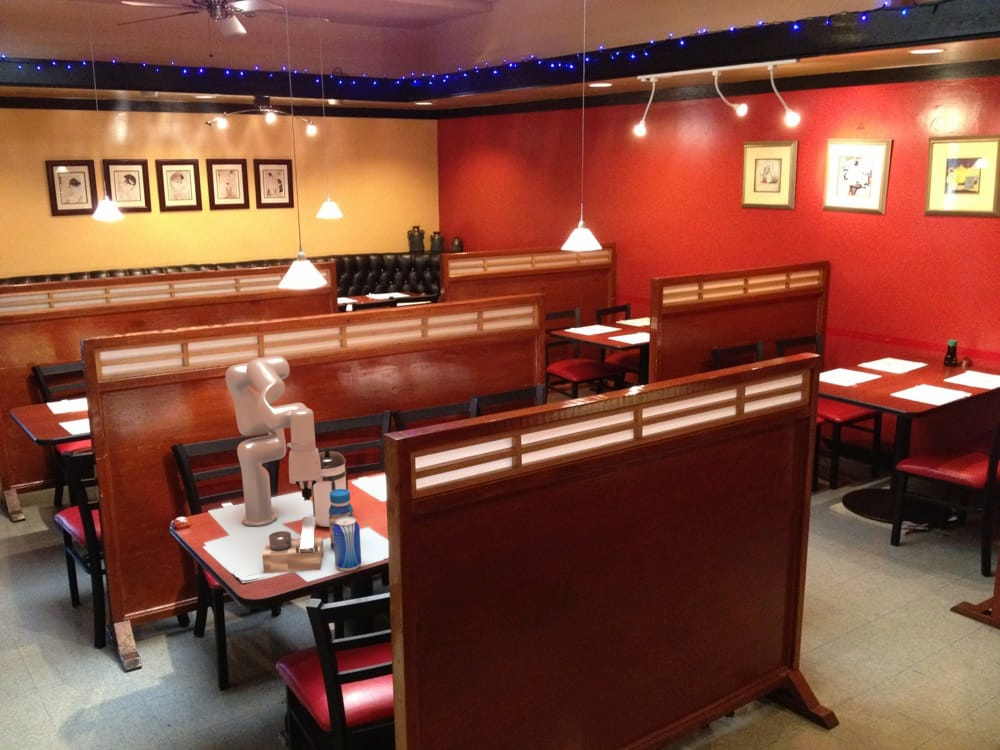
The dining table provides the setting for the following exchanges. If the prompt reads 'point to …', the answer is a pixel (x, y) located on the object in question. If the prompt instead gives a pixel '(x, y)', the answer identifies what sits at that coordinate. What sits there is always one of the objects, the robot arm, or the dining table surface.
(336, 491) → the beverage bottle
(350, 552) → the beer can
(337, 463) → the coffee press
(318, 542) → the board
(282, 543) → the pin
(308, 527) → the bar
